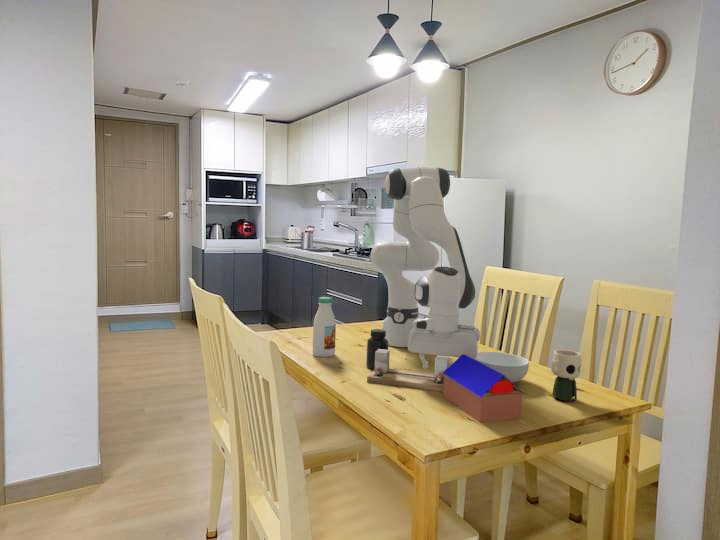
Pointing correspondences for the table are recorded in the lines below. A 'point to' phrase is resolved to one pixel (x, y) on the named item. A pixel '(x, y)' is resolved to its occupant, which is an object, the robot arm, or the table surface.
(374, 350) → the supplement bottle
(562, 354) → the character mug
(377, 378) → the board
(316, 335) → the milk bottle
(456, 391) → the house
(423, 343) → the robot arm
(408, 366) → the table surface
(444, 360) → the block
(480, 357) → the cereal bowl
